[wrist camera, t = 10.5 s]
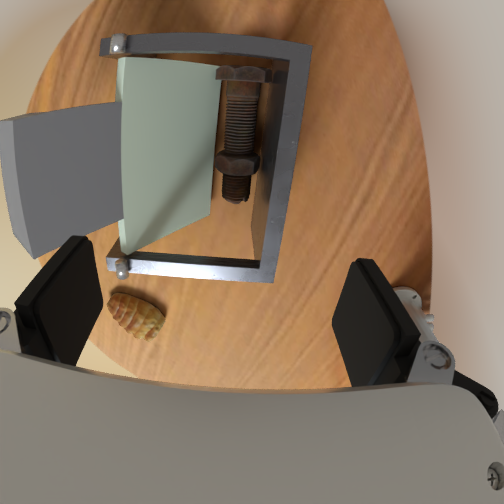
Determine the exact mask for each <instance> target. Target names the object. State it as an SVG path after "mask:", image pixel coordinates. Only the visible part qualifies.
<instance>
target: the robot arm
mask: <svg viewBox="0 0 504 504" xmlns="http://www.w3.org/2000/svg"><path fill="white" fill-rule="evenodd" d="M14 304H15V306H16V310H15V311H14V312H12V310H10V309H8V308H0V504H504V411H503V410H500V411H499V412H498V402H497V399H496V397H495V395H494V394H493V392H491V391H490V390H489V389H488V388H486V387H484V386H482V385H481V384H479V383H477V382H475V381H473V380H472V379H470V378H468V377H466V376H465V375H463V374H461V373H459V372H457V371H456V370H455V359H454V356H453V355H452V353H451V351H450V350H449V349H448V348H446V346H444V345H443V344H441V343H439V342H438V340H437V338H436V337H435V335H434V334H433V332H432V331H433V329H434V325H433V324H432V323H427V322H430V321H433V320H434V315H433V314H427V315H425V314H424V312H423V311H422V309H421V308H422V301H421V298H420V296H419V294H418V293H417V292H416V291H415V290H414V289H412V288H409V287H395V288H392V287H391V285H390V284H389V282H388V280H387V279H386V277H385V276H384V275H383V273H382V272H381V270H380V269H379V267H378V266H377V264H376V263H375V261H374V260H373V259H364V258H358V259H357V260H356V261H355V262H352V263H351V265H350V268H349V271H348V274H347V278H346V281H345V283H344V286H343V289H342V292H341V295H340V298H339V301H338V304H337V307H336V309H335V312H334V315H333V318H332V327H333V330H334V333H335V336H336V339H337V342H338V345H339V348H340V351H341V354H342V357H343V360H344V363H345V366H346V370H347V373H348V376H349V379H350V382H351V385H352V387H344V388H327V389H293V390H274V389H238V388H220V387H206V386H194V385H184V384H175V383H167V382H159V381H152V380H145V379H138V378H132V377H126V376H120V375H114V374H109V373H104V372H98V371H94V370H89V369H85V368H80V367H76V364H77V361H78V359H79V357H80V354H81V352H82V350H83V348H84V346H85V343H86V341H87V339H88V337H89V335H90V333H91V331H92V329H93V326H94V324H95V322H96V320H97V318H98V316H99V314H100V312H101V310H102V308H103V297H102V293H101V288H100V283H99V278H98V273H97V268H96V262H95V256H94V250H93V244H92V242H91V241H90V240H88V238H87V237H86V236H78V235H72V236H71V237H70V238H69V239H68V240H67V241H66V242H65V243H64V244H63V245H62V246H61V247H60V249H59V250H58V251H57V252H56V253H55V254H54V255H53V256H52V257H51V259H50V260H49V261H48V262H47V263H46V264H45V265H44V267H43V268H42V269H41V270H40V272H39V273H38V274H37V275H36V276H35V278H34V279H33V280H32V281H31V282H30V283H29V285H28V286H27V287H26V289H25V290H24V291H23V292H22V294H21V295H20V296H19V297H18V299H17V300H16V301H15V303H14Z"/></svg>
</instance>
